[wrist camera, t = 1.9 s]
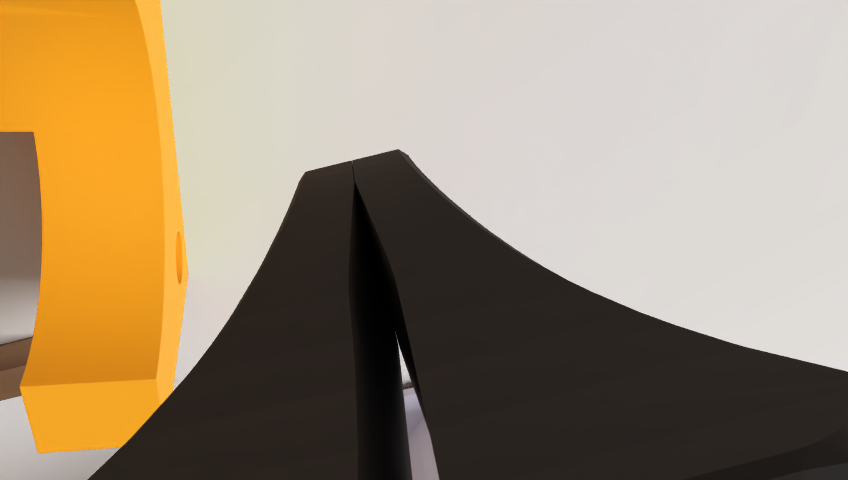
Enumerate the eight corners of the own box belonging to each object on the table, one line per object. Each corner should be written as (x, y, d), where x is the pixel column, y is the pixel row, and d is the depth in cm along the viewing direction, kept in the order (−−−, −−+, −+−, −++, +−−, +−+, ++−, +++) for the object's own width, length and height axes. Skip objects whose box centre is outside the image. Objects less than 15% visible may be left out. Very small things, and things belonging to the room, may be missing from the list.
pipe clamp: (-101, -233, 15) (-303, -203, 9) (138, -214, 16) (75, -176, 10) (25, 275, 21) (-53, 459, 16) (188, 270, 22) (165, 444, 17)
